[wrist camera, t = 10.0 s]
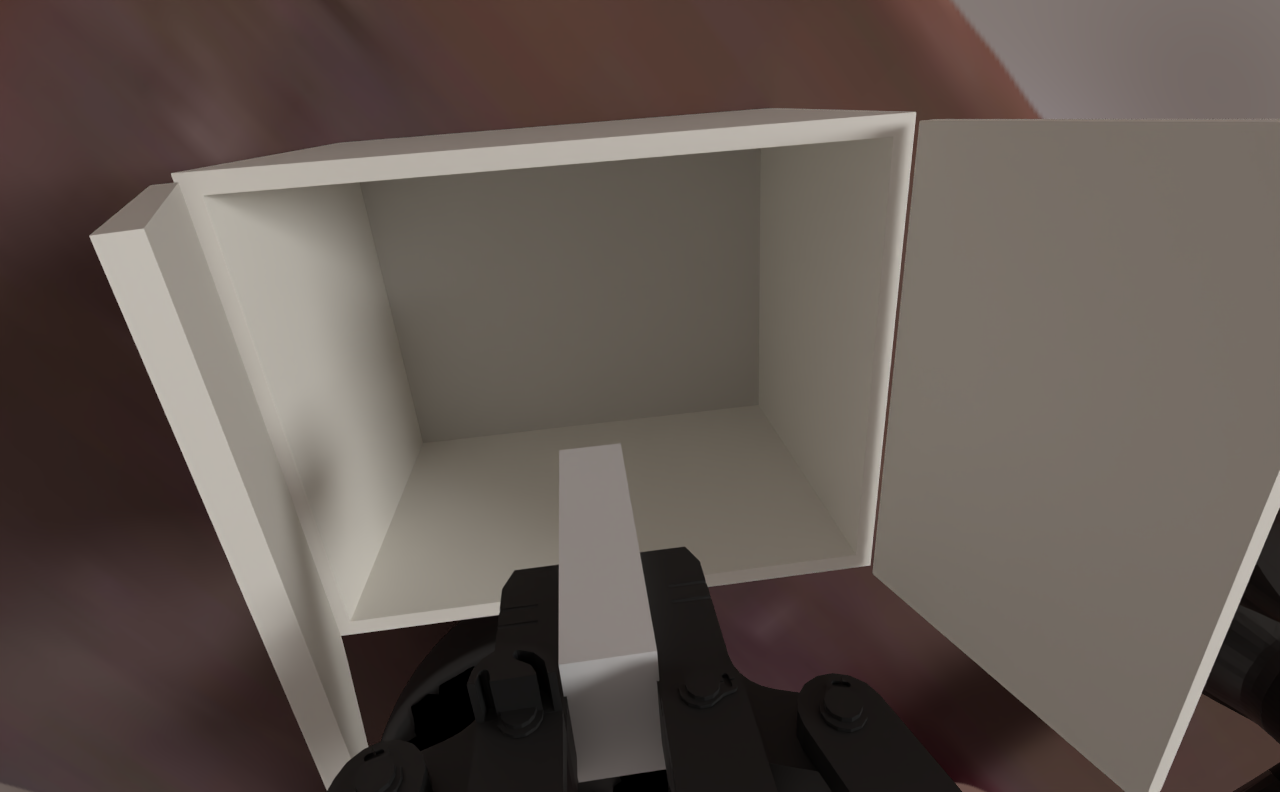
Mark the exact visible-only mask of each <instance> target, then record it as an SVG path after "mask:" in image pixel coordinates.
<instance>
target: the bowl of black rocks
mask: <svg viewBox="0 0 1280 792" xmlns="http://www.w3.org/2000/svg"><path fill="white" fill-rule="evenodd" d="M498 618H499V615H494V616H487V617H479V618H472V619H464V620H462V621H461V622H459V623H458V624H457V625H456V626H455V627H453V628H452V629H451V630H450V631H449V632H448V633H447V634H446V635H445V636H444V637H443V638H442V639H441V640H440V641H439V642H438V643H437V644H436V645H435V646H434V648H433V649H432V650H431V651H430V653H429V654H428V655H427V656H426V658H425V659H424V660H423V661H422V663H421V664H420V665H419V667H418V668H417V669H416V671H415V672H414V674H413V675H412V677H411V678H410V680H409V681H408V683H407V685H406V686H405V688H404V690H403V691H402V693H401V695H400V697H399V699H398V701H397V703H396V705H395V707H394V709H393V711H392V714H391V716H390V718H389V721H388V723H387V725H386V728H385V730H384V733H383V736H382V740H381V741H390V740H402V741H406V742H409V743H412V744H414V745H415V746H416V747H417V748H418V749H419V750H420V751H422V750H425V749H427V748H429V747H431V746H434V745H436V744H438V743H440V742H443V741H445V740H447V739H449V738H451V737H453V736H455V735H456V734H458V733H460V732H462V731H463V730H464V729H465V728H466V727H468V726H469V725H470V724H471V723H472V722H473V721H474V720H475V716H474V712H473V708H472V704H471V700H470V696H469V693H468V689H467V682H468V680H469V677H470V674H471V672H472V670H473V669H474V668H475V667H476V666H477V664H478V663H479V662H480V661H481V660H482V659H483V658H484V657H486V656H487V655H489V654H491V653H492V652H494V651H495V643H496V635H497V630H498ZM577 778H578V776H577ZM578 792H669V788H668V779H667V772H666V769H663V770H657V771H650V772H644V773H637V774H631V775H625V776H618V777H612V778H605V779H599V780H592V781H586V782H578Z"/></svg>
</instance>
